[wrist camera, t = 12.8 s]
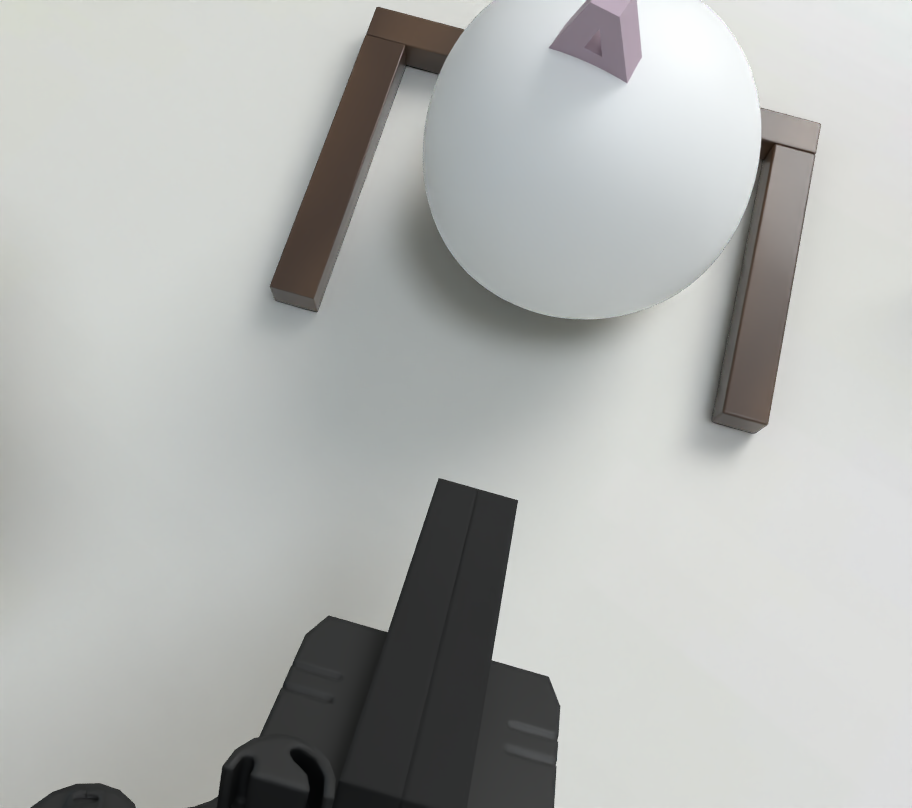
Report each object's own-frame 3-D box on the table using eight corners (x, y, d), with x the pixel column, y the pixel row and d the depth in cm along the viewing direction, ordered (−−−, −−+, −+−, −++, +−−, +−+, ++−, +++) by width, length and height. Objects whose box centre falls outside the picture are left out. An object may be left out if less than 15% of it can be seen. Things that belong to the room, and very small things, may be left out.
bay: (274, 300, 30) (269, 286, 29) (377, 27, 34) (376, 5, 33) (755, 434, 30) (768, 425, 28) (808, 141, 33) (822, 122, 32)
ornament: (401, 338, 30) (391, 138, 19) (444, 97, 33) (458, -204, 22) (687, 382, 30) (853, 208, 19) (704, 136, 33) (856, -144, 22)
